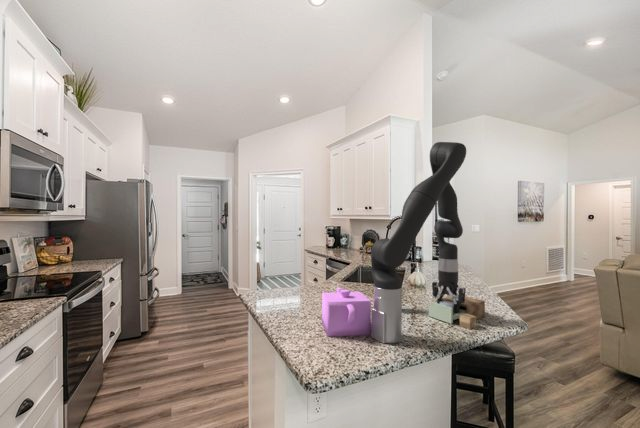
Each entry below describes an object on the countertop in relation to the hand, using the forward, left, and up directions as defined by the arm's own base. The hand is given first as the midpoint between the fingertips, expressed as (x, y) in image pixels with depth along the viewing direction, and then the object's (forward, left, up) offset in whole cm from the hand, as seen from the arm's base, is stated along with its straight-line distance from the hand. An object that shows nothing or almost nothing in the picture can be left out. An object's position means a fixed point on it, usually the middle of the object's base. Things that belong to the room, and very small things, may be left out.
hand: (448, 310), depth 117 cm
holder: (+10, 0, -3) cm, 11 cm away
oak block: (-1, -10, -3) cm, 10 cm away
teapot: (-43, +12, -4) cm, 45 cm away
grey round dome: (0, 0, +1) cm, 1 cm away
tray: (+1, 0, -3) cm, 3 cm away
